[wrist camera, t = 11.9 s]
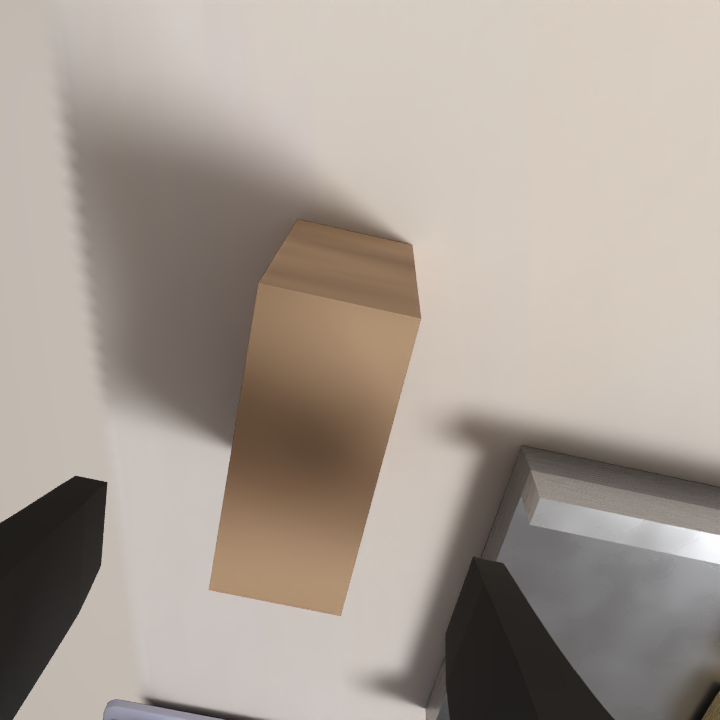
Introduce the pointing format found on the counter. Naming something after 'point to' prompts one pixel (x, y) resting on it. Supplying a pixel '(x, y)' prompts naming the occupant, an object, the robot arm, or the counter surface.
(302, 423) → the tan rectangular block
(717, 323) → the counter surface
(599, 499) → the slot plate
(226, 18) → the counter surface
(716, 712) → the brass chip
